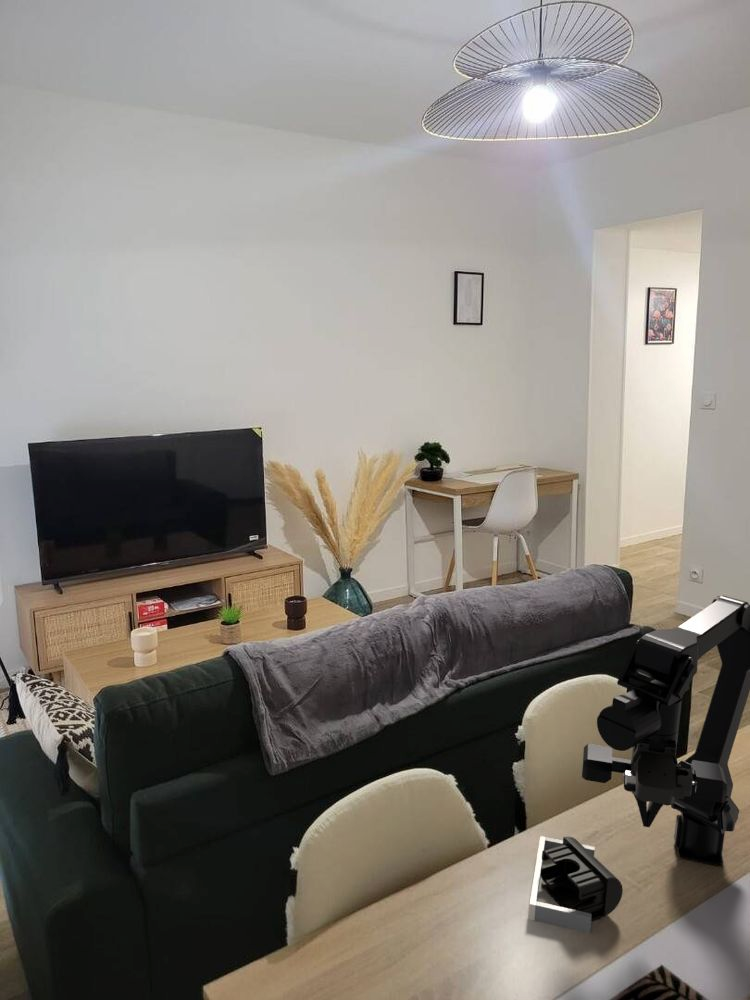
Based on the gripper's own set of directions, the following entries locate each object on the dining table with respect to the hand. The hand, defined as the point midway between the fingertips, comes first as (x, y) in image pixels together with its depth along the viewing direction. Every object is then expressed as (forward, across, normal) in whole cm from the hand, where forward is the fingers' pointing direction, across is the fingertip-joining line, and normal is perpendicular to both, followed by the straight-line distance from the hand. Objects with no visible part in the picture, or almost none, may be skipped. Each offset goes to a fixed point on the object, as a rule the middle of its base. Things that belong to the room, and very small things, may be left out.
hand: (646, 825), depth 110 cm
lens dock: (+12, -11, -2) cm, 16 cm away
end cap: (+12, -8, -3) cm, 15 cm away
